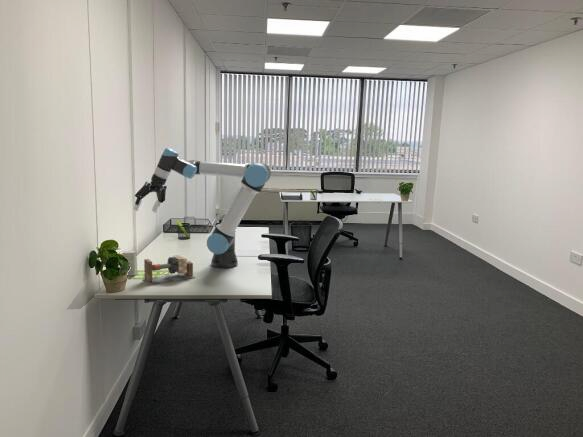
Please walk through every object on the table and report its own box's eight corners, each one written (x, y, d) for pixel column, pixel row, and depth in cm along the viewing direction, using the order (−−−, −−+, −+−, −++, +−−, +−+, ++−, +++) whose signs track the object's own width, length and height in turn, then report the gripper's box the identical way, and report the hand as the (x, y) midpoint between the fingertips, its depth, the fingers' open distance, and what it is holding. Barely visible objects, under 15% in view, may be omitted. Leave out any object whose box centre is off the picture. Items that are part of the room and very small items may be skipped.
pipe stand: (188, 273, 231) (188, 253, 229) (194, 277, 224) (194, 257, 222) (142, 280, 217) (142, 258, 216) (148, 285, 210) (148, 263, 208)
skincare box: (137, 273, 228) (137, 250, 226) (135, 275, 224) (134, 252, 222) (125, 273, 228) (124, 250, 226) (122, 275, 223) (121, 252, 221)
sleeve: (180, 269, 228) (180, 254, 227) (186, 273, 222) (186, 258, 220) (173, 270, 226) (173, 255, 224) (179, 274, 219) (179, 259, 218)
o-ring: (170, 270, 225) (170, 255, 223) (176, 274, 218) (176, 259, 217) (167, 271, 224) (167, 256, 222) (173, 275, 217) (173, 259, 216)
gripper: (171, 175, 244) (156, 208, 247) (138, 169, 221) (122, 205, 225) (180, 181, 241) (165, 215, 244) (147, 175, 218) (131, 212, 222)
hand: (144, 210), depth 235 cm, fingers open, 13 cm apart
